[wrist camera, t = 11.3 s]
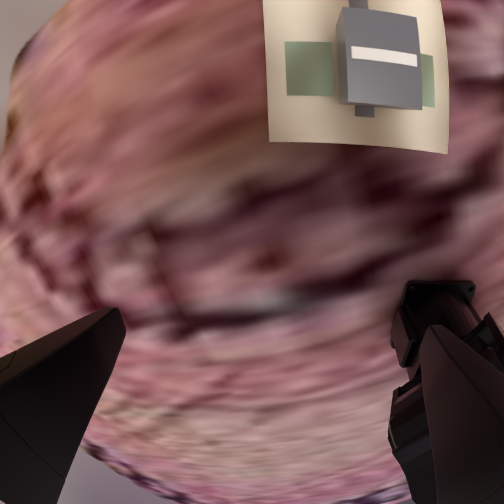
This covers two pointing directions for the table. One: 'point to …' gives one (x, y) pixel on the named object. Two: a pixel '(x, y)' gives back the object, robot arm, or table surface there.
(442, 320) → the robot arm
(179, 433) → the table surface
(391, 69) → the fader knob
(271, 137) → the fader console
